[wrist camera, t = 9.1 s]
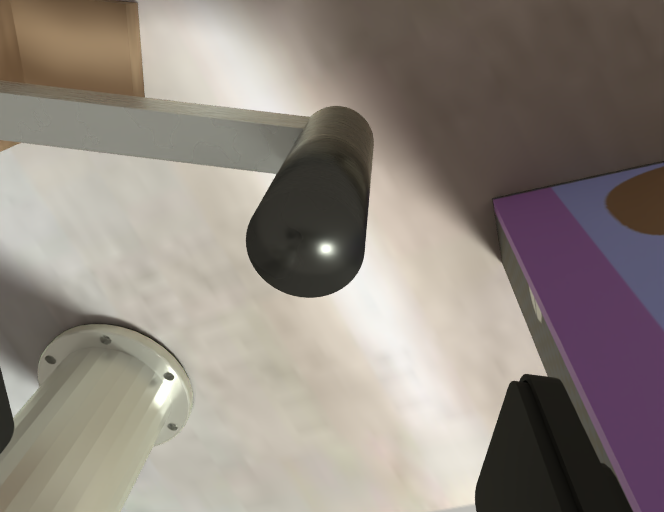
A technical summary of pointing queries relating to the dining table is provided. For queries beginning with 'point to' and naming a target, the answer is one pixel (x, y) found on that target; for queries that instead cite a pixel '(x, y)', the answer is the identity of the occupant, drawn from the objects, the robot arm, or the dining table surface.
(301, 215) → the shaft
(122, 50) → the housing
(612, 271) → the cereal box
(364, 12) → the dining table surface
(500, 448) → the robot arm
